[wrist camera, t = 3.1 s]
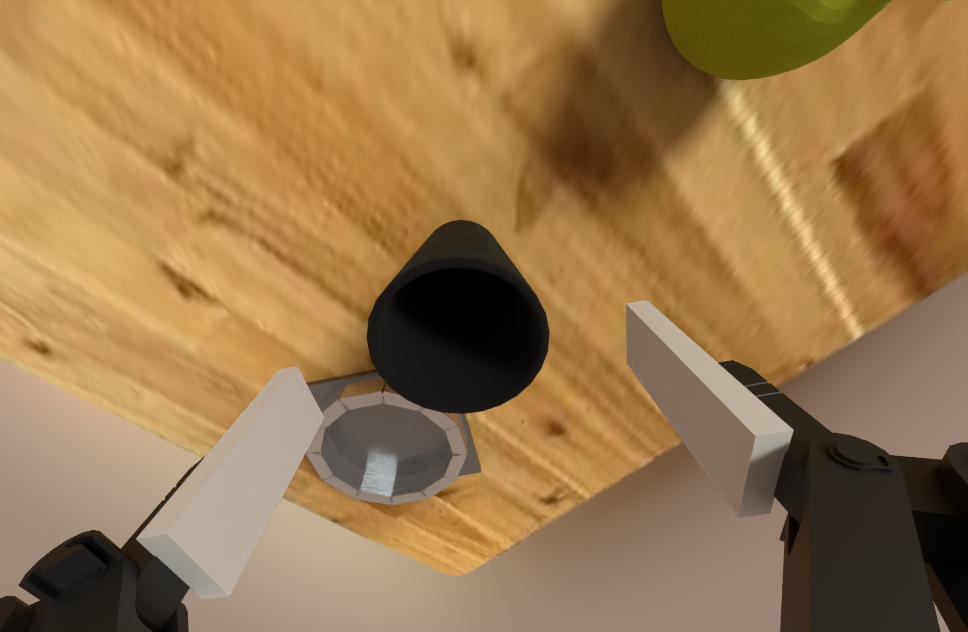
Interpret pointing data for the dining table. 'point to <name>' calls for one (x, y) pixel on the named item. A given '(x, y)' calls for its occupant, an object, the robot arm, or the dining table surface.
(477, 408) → the cup
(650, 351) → the robot arm
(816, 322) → the dining table surface
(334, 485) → the duct collar
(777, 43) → the fruit
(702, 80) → the dining table surface
